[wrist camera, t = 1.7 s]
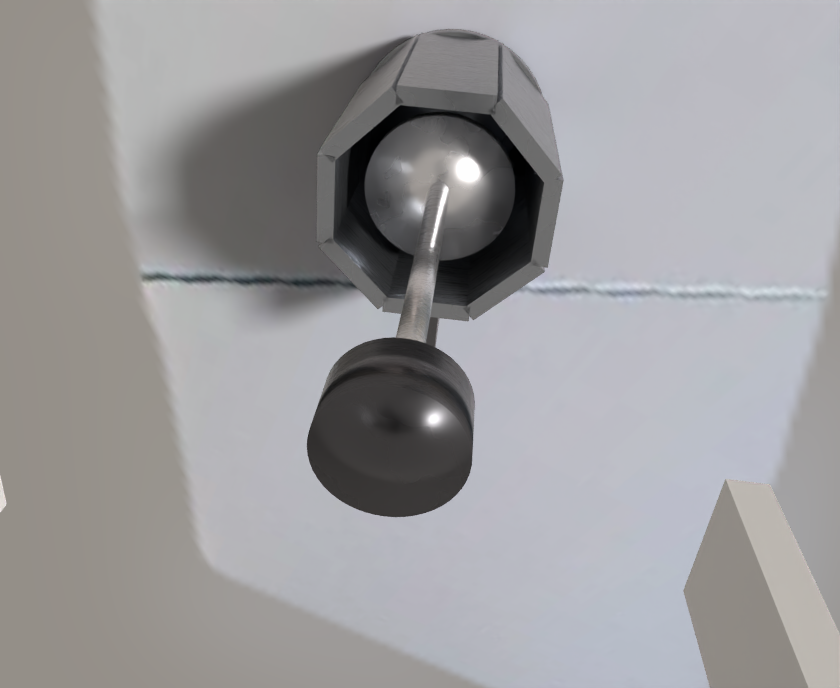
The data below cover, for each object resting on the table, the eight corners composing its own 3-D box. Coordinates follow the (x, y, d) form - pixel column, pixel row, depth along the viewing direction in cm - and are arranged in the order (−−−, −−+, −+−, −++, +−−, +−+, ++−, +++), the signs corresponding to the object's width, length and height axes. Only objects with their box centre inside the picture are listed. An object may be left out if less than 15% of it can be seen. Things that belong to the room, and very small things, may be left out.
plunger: (370, 104, 37) (250, 322, 19) (525, 120, 37) (546, 356, 19) (363, 245, 41) (258, 536, 23) (504, 261, 40) (505, 567, 23)
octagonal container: (360, 19, 44) (313, 71, 33) (562, 39, 44) (583, 99, 33) (351, 251, 51) (310, 358, 40) (524, 271, 51) (530, 384, 40)
